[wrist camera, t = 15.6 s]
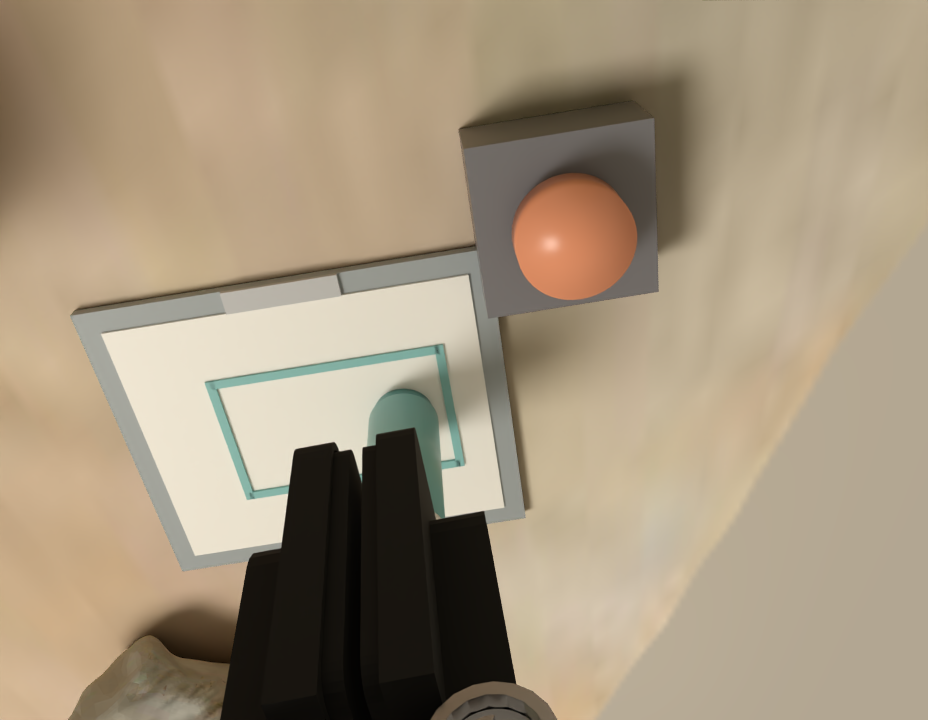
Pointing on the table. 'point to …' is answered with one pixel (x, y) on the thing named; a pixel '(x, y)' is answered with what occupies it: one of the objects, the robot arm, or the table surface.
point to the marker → (417, 412)
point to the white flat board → (300, 390)
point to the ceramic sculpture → (154, 687)
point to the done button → (573, 236)
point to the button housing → (544, 156)
